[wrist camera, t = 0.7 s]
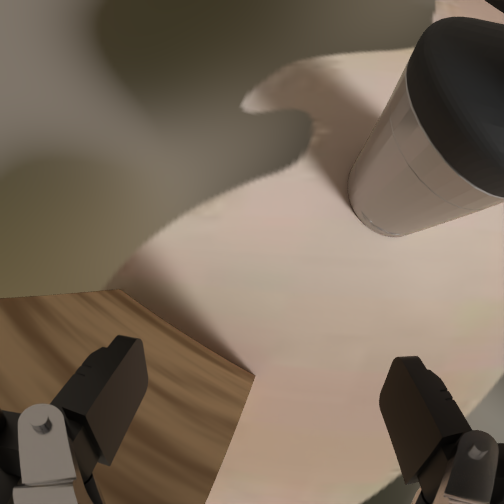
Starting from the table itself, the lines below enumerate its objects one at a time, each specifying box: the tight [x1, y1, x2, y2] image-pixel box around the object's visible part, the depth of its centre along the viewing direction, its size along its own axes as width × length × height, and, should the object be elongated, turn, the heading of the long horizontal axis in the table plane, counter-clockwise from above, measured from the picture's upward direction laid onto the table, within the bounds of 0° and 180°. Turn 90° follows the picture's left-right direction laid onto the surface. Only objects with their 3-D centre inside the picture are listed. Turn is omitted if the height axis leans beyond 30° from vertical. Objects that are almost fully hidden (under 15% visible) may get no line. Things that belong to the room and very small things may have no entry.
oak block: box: [0, 289, 255, 504], centre depth 18 cm, size 9×17×24 cm, turn 61°
